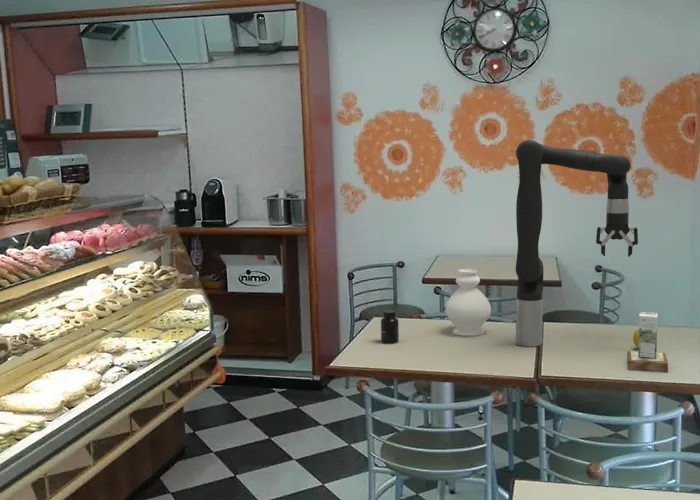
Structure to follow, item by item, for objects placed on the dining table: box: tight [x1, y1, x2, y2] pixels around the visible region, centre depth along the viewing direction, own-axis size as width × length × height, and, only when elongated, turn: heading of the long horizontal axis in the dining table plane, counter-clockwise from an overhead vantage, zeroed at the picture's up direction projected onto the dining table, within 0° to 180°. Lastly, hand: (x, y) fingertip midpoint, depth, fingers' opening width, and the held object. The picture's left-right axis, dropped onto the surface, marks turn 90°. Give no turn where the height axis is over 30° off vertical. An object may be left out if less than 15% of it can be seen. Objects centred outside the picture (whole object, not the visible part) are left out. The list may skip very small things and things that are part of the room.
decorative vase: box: [445, 268, 492, 337], centre depth 306 cm, size 18×18×25 cm
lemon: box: [632, 328, 639, 348], centre depth 275 cm, size 6×6×8 cm
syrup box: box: [637, 311, 659, 359], centre depth 255 cm, size 6×6×14 cm
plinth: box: [626, 350, 669, 373], centre depth 257 cm, size 12×12×3 cm
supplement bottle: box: [380, 309, 400, 345], centre depth 297 cm, size 7×7×12 cm
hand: (616, 255), depth 279 cm, fingers open, 8 cm apart
